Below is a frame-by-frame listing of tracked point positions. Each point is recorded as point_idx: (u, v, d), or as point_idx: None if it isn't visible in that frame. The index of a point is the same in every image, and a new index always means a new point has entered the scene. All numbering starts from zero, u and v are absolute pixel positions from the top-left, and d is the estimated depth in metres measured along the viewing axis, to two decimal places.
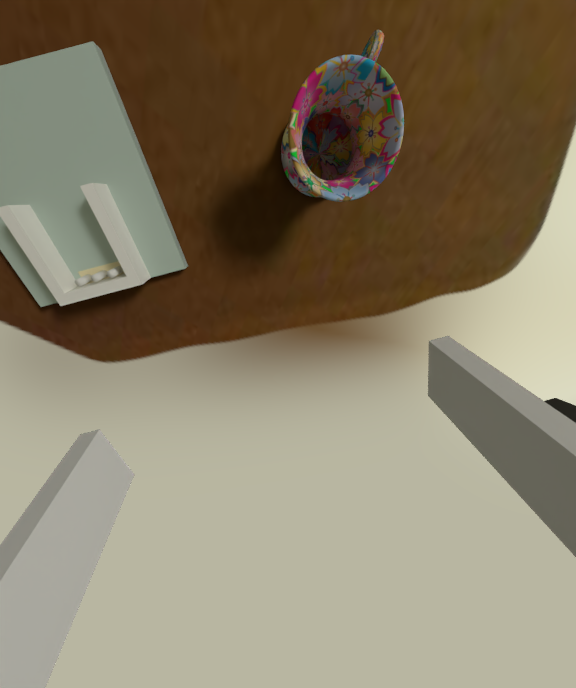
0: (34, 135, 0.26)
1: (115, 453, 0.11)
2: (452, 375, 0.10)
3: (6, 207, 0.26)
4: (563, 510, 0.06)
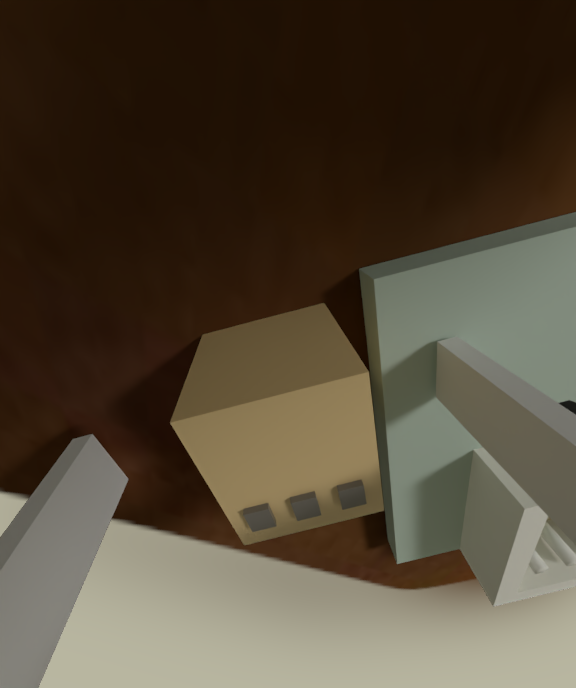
0: None
1: (109, 458, 0.11)
2: (462, 376, 0.09)
3: None
4: None
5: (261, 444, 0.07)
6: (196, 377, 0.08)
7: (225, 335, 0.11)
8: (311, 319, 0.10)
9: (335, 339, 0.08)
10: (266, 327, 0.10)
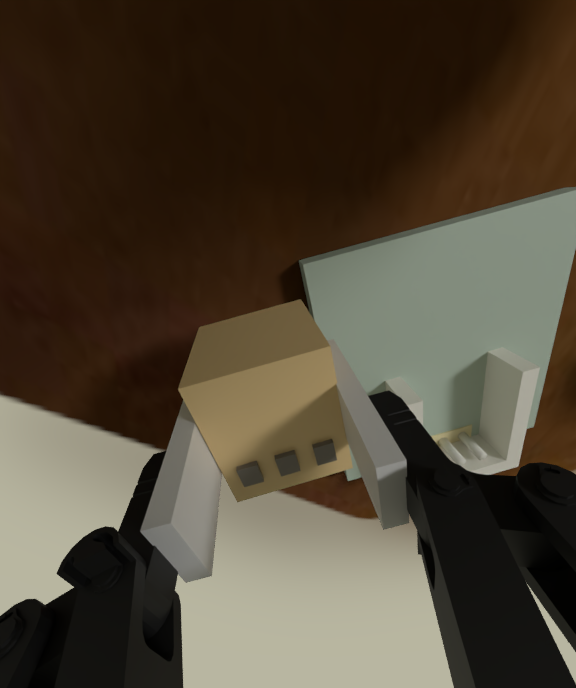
0: (452, 299, 0.19)
1: None
2: None
3: (420, 403, 0.18)
4: (367, 477, 0.08)
5: (249, 407, 0.09)
6: (196, 358, 0.10)
7: (218, 327, 0.13)
8: (290, 312, 0.12)
9: (307, 325, 0.11)
10: (252, 320, 0.12)
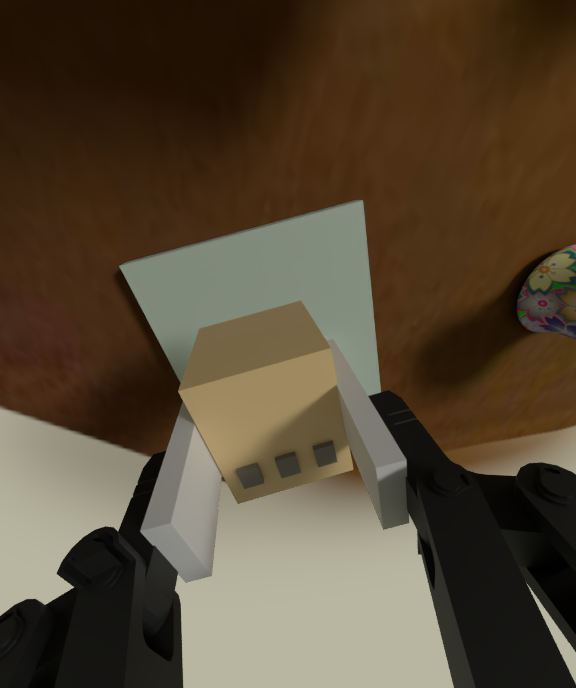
0: (265, 295, 0.22)
1: None
2: None
3: None
4: (367, 477, 0.08)
5: (249, 409, 0.09)
6: (196, 360, 0.10)
7: (219, 329, 0.13)
8: (290, 314, 0.12)
9: (308, 327, 0.11)
10: (252, 321, 0.12)
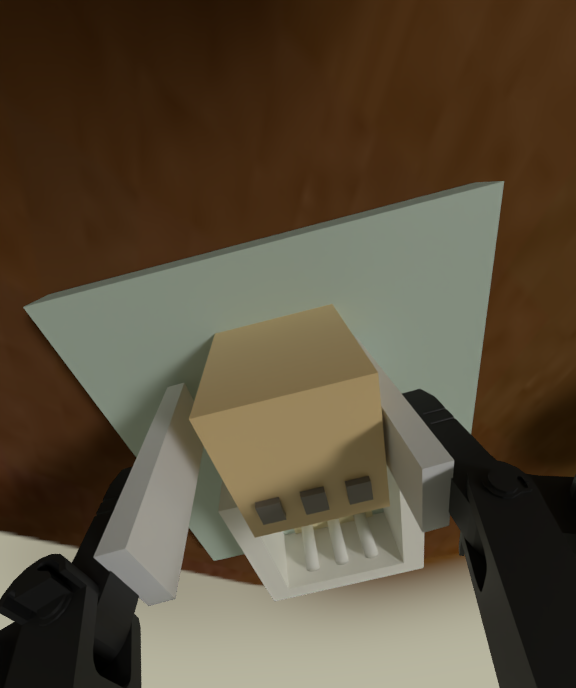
0: None
1: None
2: None
3: None
4: (403, 478, 0.08)
5: (273, 440, 0.08)
6: (212, 376, 0.09)
7: (237, 335, 0.11)
8: (321, 321, 0.10)
9: (344, 340, 0.09)
10: (276, 328, 0.11)
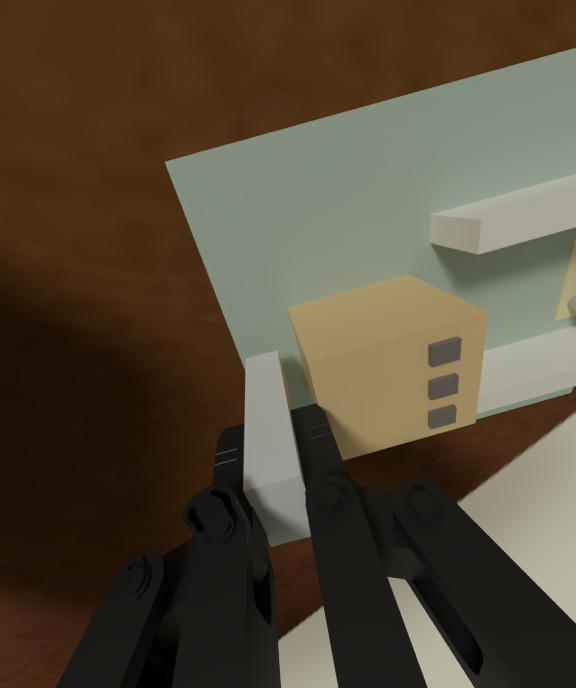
0: None
1: None
2: None
3: None
4: None
5: (362, 420, 0.10)
6: None
7: (307, 382, 0.14)
8: (294, 333, 0.12)
9: (299, 343, 0.11)
10: (301, 360, 0.14)
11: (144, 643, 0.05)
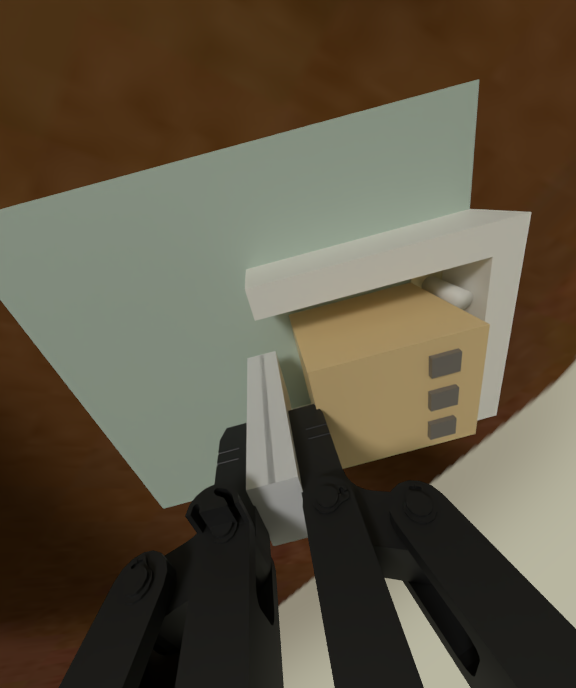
0: (174, 377, 0.14)
1: None
2: None
3: None
4: None
5: (361, 429, 0.10)
6: None
7: (307, 388, 0.15)
8: (296, 340, 0.12)
9: (300, 352, 0.11)
10: (302, 367, 0.14)
11: (147, 643, 0.05)
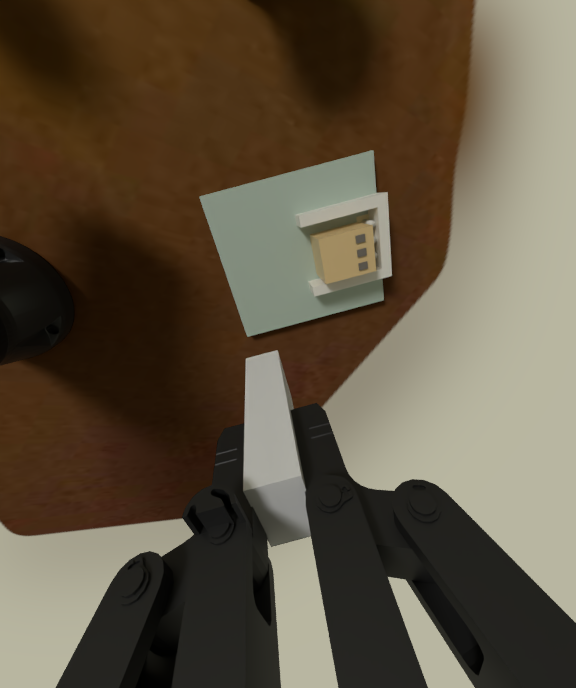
0: (262, 261, 0.35)
1: None
2: None
3: (314, 288, 0.34)
4: None
5: (335, 264, 0.31)
6: (321, 277, 0.34)
7: (316, 267, 0.35)
8: (312, 242, 0.33)
9: (315, 240, 0.32)
10: (314, 255, 0.34)
11: (144, 643, 0.05)
